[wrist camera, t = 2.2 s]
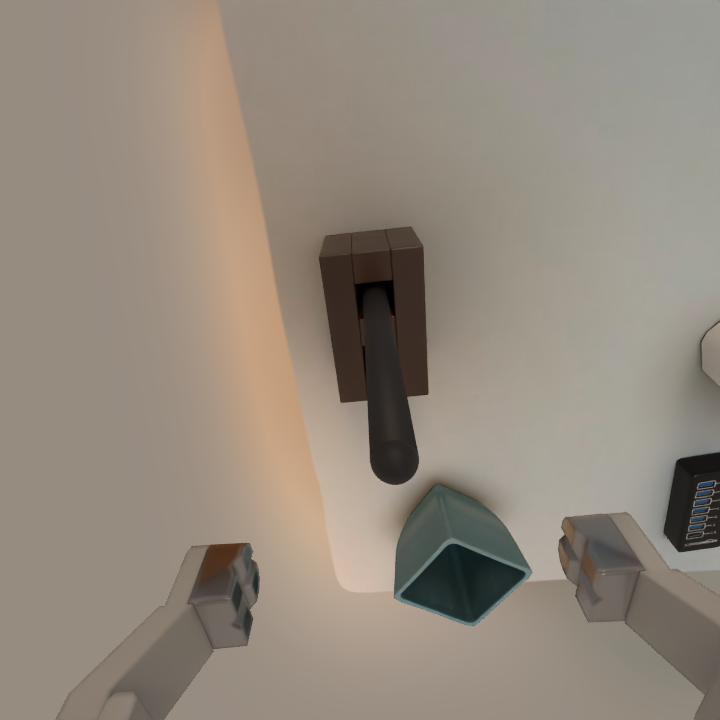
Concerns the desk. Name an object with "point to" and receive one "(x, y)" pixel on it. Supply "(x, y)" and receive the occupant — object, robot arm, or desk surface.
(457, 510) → the flower pot
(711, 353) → the cup
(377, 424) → the stylus
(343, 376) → the pen stand
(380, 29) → the desk surface
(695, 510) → the multiport hub
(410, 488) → the desk surface
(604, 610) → the robot arm
